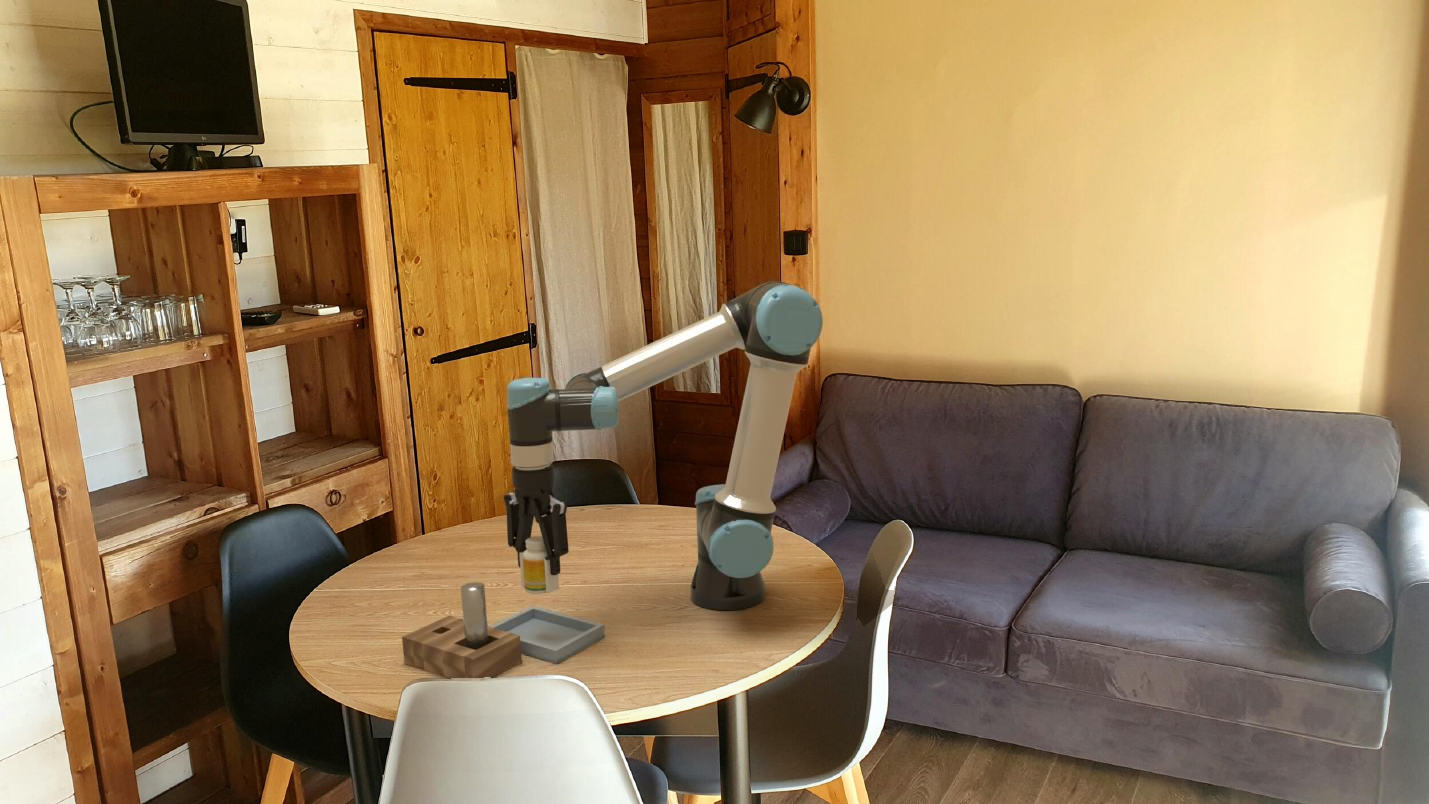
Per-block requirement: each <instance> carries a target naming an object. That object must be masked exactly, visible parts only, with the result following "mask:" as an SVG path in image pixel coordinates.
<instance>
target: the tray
mask: <svg viewBox="0 0 1429 804" xmlns="http://www.w3.org/2000/svg"><path fill="white" fill-rule="evenodd" d="M489 627H492V628H496V629H499V630H502V631H506V632H509V633H513V634H516V635H520V642H521V655H524V656H528V657H531V658H535V659H538V660H542V661H544V662H549V663H552V664H555V665H558V664H560V663H561V662H563V661H566V660H568V659H569V658H571V657H572V656H574V655H576V654H578V653H580V652H581V651H583V650H585V649H586V648H588V647H591V646H593V644H595V643H598V642H600V641H601V640H602V639H605V637H606V635H605V624H603V623H599V622H596V621H591V620H588V619H584V618H580V617H576V616H572V615H569V614H564V613H562V612H557V611H553V610H550V609H546V608H543V607H542V608H541V607H538V606H534V605H532V606H530V607H528V608H526V609H523V610H522V611H519V612H518V613H516V614H513V615H511V616H510V617H507V618H505V619H502V620H501V621H499V622H497V623H495V624H492V625H490V626H489Z"/></svg>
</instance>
